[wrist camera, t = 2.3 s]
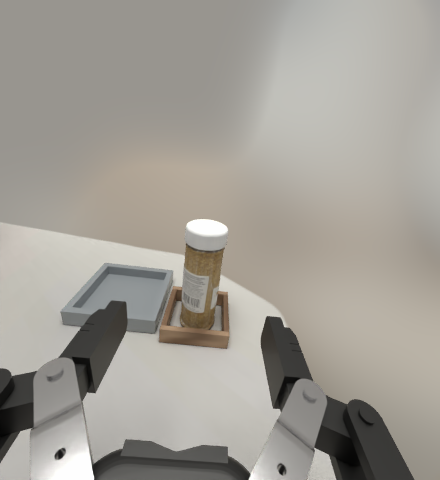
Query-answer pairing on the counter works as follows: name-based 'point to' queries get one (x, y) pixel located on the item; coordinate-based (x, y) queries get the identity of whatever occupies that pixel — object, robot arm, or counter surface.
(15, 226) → the counter surface
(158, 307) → the slate tray
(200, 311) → the sprinkles bottle
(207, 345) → the wooden picture frame
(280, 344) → the robot arm
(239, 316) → the counter surface
